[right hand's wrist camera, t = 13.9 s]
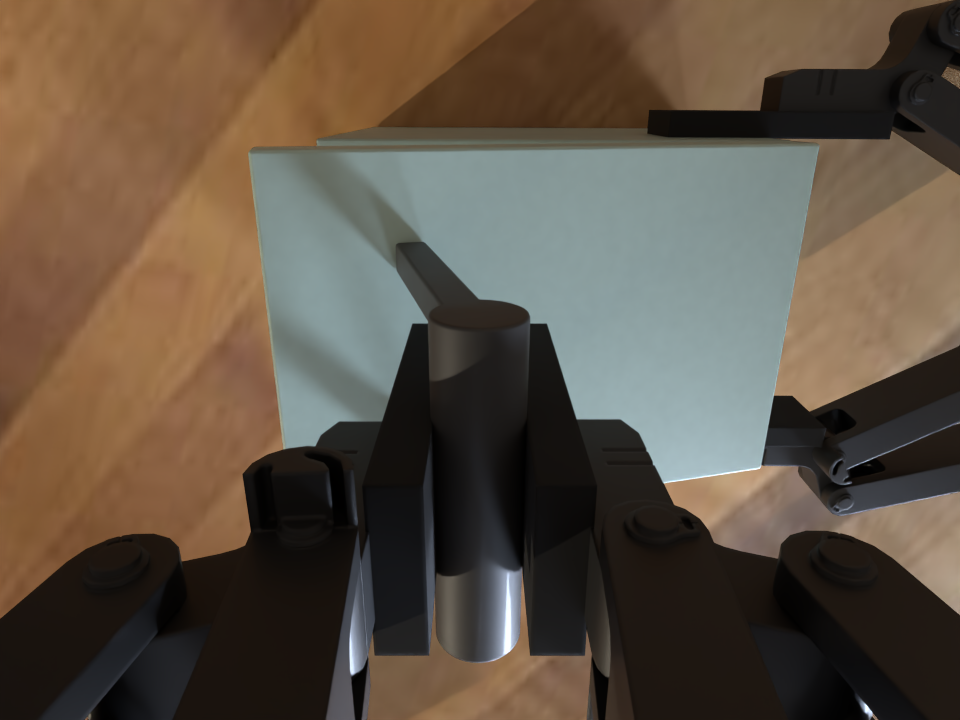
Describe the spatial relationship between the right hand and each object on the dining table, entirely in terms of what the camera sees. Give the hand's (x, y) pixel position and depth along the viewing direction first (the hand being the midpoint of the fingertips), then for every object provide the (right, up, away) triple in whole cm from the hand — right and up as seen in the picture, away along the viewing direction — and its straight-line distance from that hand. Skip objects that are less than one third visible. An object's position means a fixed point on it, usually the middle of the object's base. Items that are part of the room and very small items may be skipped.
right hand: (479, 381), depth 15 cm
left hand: (+6, +3, +8) cm, 10 cm away
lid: (+2, +1, +3) cm, 4 cm away
